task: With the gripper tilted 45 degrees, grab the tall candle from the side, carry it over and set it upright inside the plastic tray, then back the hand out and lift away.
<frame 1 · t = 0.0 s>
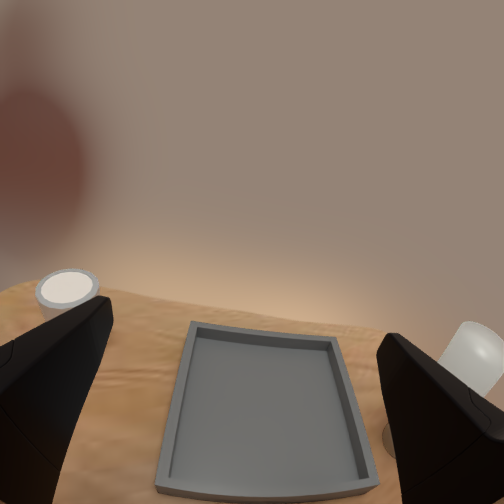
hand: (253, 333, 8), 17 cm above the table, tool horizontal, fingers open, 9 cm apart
shot glass: (79, 340, 26), on the table
tray: (265, 414, 23), on the table
candle: (406, 439, 20), on the table
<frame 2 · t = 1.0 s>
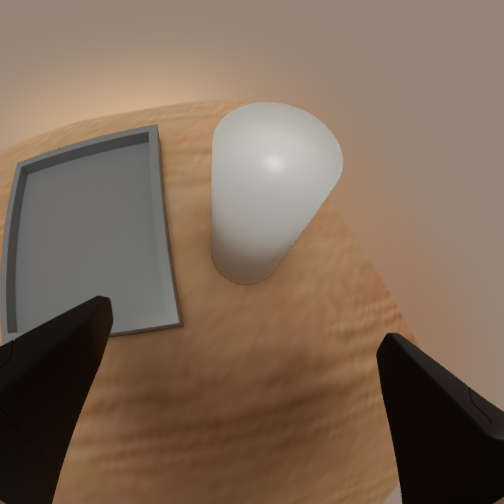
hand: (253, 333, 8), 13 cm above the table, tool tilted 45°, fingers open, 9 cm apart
tray: (81, 235, 22), on the table
candle: (245, 251, 23), on the table
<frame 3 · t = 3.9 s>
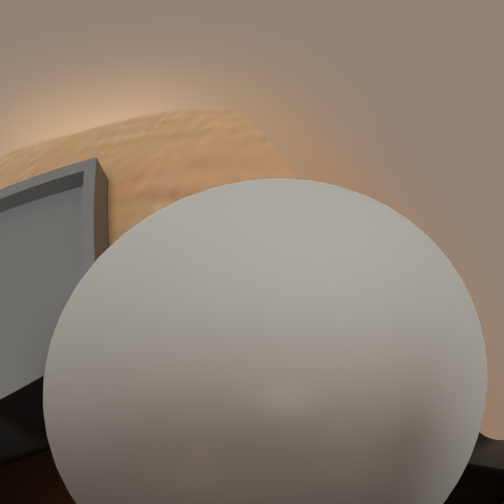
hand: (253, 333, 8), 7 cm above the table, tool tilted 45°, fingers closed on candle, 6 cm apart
tray: (14, 326, 13), on the table
candle: (233, 364, 15), on the table, touching gripper
when the fingers open (10 cm above the table, at t = 8.0 s): candle drops 2 cm, resting on tray.
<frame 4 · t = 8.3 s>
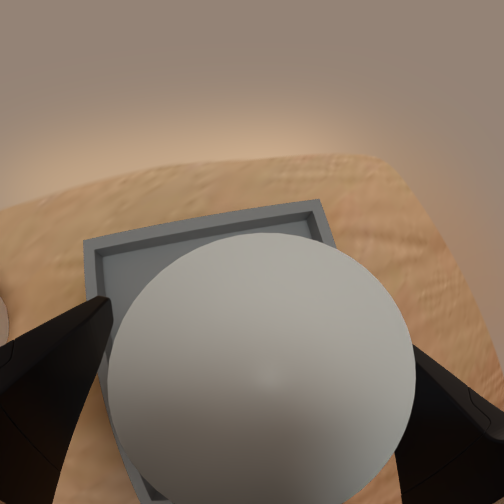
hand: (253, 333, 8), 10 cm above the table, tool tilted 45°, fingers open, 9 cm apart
tray: (230, 361, 17), on the table
candle: (231, 363, 16), point 1 cm above the table, touching tray
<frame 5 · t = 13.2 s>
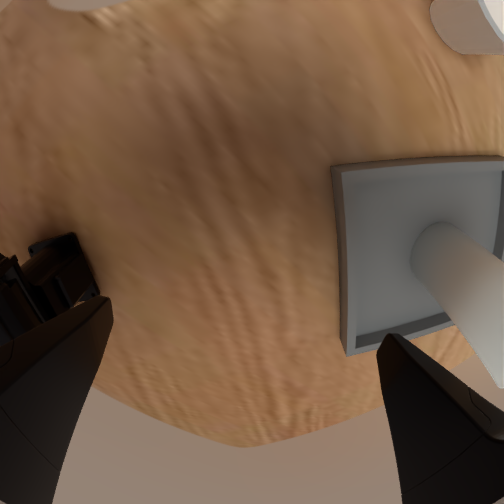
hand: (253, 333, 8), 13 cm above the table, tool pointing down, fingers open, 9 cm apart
shot glass: (453, 26, 13), on the table
tray: (431, 247, 22), on the table
candle: (436, 252, 21), point 1 cm above the table, touching tray
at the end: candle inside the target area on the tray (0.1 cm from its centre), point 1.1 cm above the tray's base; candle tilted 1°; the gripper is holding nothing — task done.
